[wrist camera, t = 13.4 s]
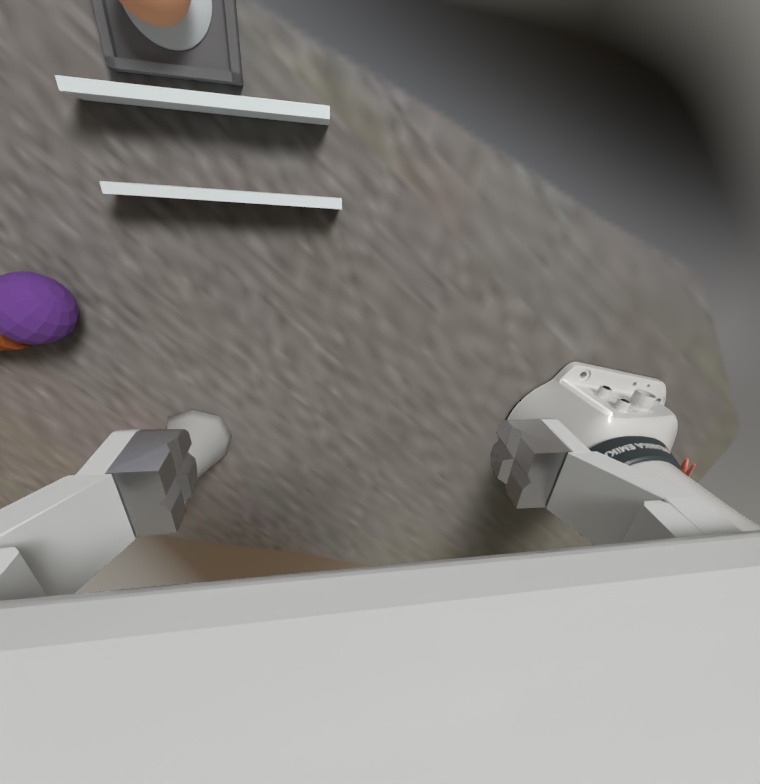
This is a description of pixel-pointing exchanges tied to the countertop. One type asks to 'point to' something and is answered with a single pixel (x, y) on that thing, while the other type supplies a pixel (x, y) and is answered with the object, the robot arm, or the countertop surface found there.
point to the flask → (203, 437)
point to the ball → (158, 10)
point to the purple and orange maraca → (34, 310)
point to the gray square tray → (174, 42)
